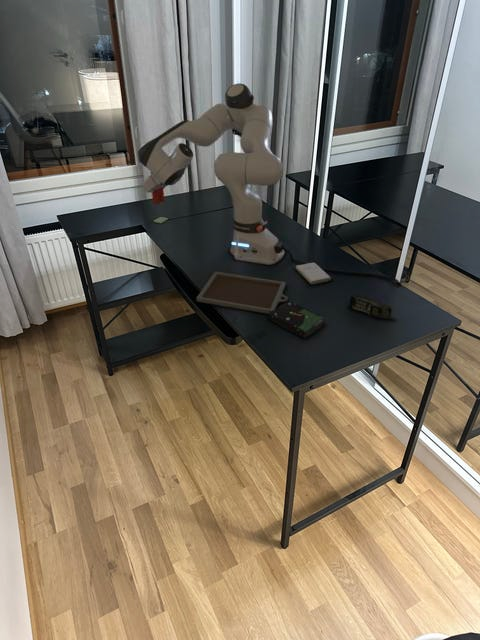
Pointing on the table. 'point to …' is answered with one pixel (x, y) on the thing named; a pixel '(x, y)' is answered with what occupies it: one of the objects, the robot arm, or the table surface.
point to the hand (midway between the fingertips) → (156, 189)
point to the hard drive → (313, 273)
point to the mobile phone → (370, 307)
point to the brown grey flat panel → (243, 292)
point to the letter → (158, 196)
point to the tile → (160, 219)
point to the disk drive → (296, 319)
